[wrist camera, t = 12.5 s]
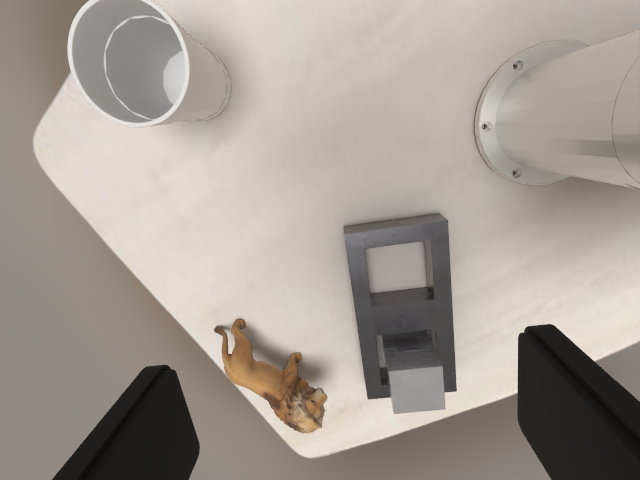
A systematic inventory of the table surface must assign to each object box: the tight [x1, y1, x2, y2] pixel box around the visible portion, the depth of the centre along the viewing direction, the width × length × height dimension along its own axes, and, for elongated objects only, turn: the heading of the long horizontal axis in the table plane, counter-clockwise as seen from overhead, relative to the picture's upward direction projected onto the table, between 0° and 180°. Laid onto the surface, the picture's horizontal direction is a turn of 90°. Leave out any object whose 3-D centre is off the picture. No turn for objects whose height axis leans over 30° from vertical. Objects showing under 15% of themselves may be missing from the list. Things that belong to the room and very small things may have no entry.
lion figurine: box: [214, 319, 327, 433], centre depth 38 cm, size 15×5×9 cm, turn 65°
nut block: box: [381, 330, 445, 414], centre depth 37 cm, size 5×5×8 cm
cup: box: [68, 0, 231, 128], centre depth 28 cm, size 8×8×12 cm
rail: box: [344, 214, 457, 399], centre depth 38 cm, size 10×20×3 cm, turn 9°
